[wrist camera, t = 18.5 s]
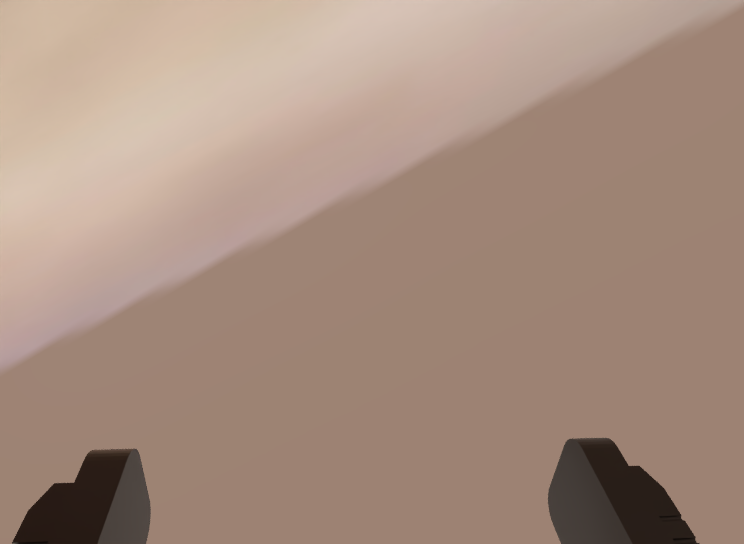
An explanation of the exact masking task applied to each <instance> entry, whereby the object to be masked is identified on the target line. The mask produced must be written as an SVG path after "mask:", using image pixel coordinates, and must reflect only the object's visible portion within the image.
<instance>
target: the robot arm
mask: <svg viewBox="0 0 744 544" xmlns="http://www.w3.org/2000/svg"><path fill="white" fill-rule="evenodd" d="M548 504H549V512H550V516H551V520H552V522H553V525H554V527H555V530H556V532H557V535H558V537H559V539H560V542H561V544H699V543H696V541H695V536H694V534H693V533H692V531H691V530H690V528H689V527H688V525H687V523H686V522H685V521H683V520H682V519H681V514H680V512H679V511H678V510H677V508H676V506H675V505H674V503H673V502H672V500H671V498H670V497H669V496H668V494H667V492H666V491H665V489H664V488H663V487H662V486H661V485H660V484H659V483H658V482H656V481H655V480H654V479H653V478H652V477H651V476H650V475H649V474H648V473H647V472H645V471H644V470H643V469H642V468H641V467H640V466H628V464H627V462H626V461H625V459H624V457H623V456H622V454H621V452H620V451H619V449H618V447H617V446H616V445H615V443H614V442H613V441H612V440H611V439H609V438H580V439H569V440H567V442H566V443H565V445H564V448H563V451H562V454H561V456H560V459H559V462H558V465H557V468H556V471H555V473H554V476H553V479H552V482H551V485H550V488H549V493H548ZM149 525H150V500H149V495H148V491H147V486H146V482H145V477H144V473H143V468H142V464H141V459H140V455H139V452H138V450H137V449H111V450H92V451H90V452H89V453H88V454H87V456H86V457H85V460H84V461H83V464H82V466H81V468H80V471H79V473H78V475H77V478H76V480H75V482H74V483H55V484H53V486H51V487H50V489H49V490H48V491H47V492H46V493H45V494H44V495H43V496H42V497H41V498H40V499H39V500H38V501H37V502H36V503H35V504H34V505H33V506H32V507H31V508H30V509H29V511H28V512H27V514H26V516H25V518H24V520H23V522H22V524H21V526H20V528H19V530H18V532H17V534H16V536H15V538H14V540H13V542H12V544H146V541H147V536H148V532H149Z"/></svg>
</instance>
